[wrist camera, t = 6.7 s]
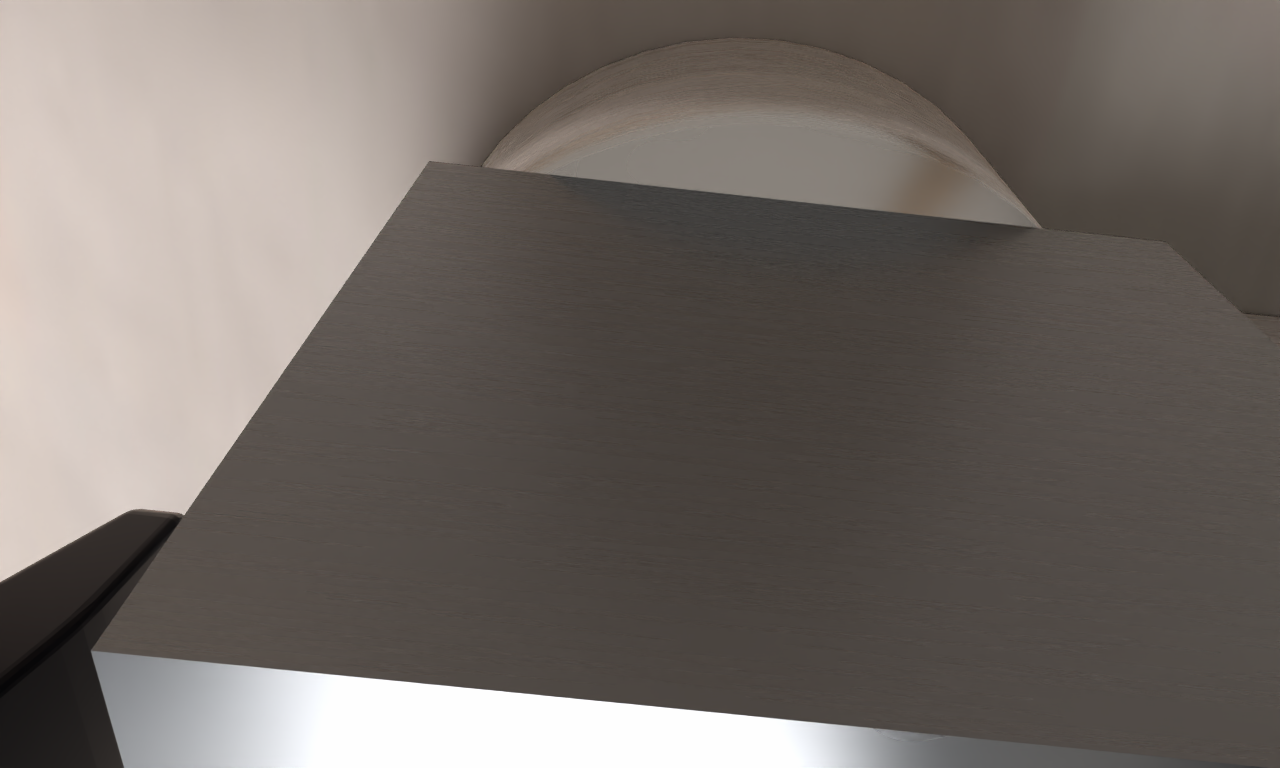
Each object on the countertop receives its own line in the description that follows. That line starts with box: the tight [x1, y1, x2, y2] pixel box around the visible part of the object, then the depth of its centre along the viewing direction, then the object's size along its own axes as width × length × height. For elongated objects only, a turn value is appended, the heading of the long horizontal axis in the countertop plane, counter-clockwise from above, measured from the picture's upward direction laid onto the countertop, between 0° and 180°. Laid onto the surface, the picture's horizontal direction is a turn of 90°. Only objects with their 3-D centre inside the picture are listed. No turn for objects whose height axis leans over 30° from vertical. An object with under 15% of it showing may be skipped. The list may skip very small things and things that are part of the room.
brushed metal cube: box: [91, 161, 1280, 768], centre depth 7 cm, size 6×6×5 cm
